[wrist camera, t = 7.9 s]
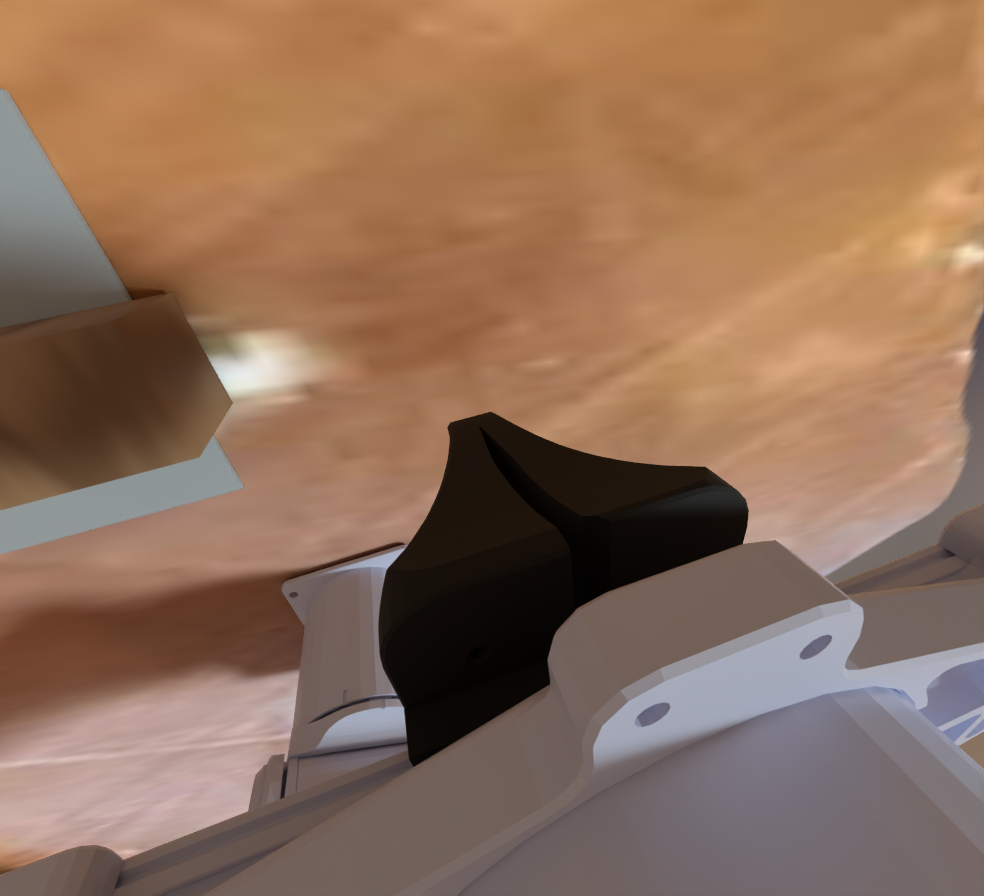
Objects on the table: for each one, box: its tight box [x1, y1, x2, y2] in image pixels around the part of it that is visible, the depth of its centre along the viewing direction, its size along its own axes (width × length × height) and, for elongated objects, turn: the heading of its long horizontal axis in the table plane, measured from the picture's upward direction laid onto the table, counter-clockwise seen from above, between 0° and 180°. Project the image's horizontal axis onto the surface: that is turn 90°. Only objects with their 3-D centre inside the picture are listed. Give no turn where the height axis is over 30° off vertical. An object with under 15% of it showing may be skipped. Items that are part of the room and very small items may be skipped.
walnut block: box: [0, 292, 233, 510], centre depth 15 cm, size 5×5×9 cm
